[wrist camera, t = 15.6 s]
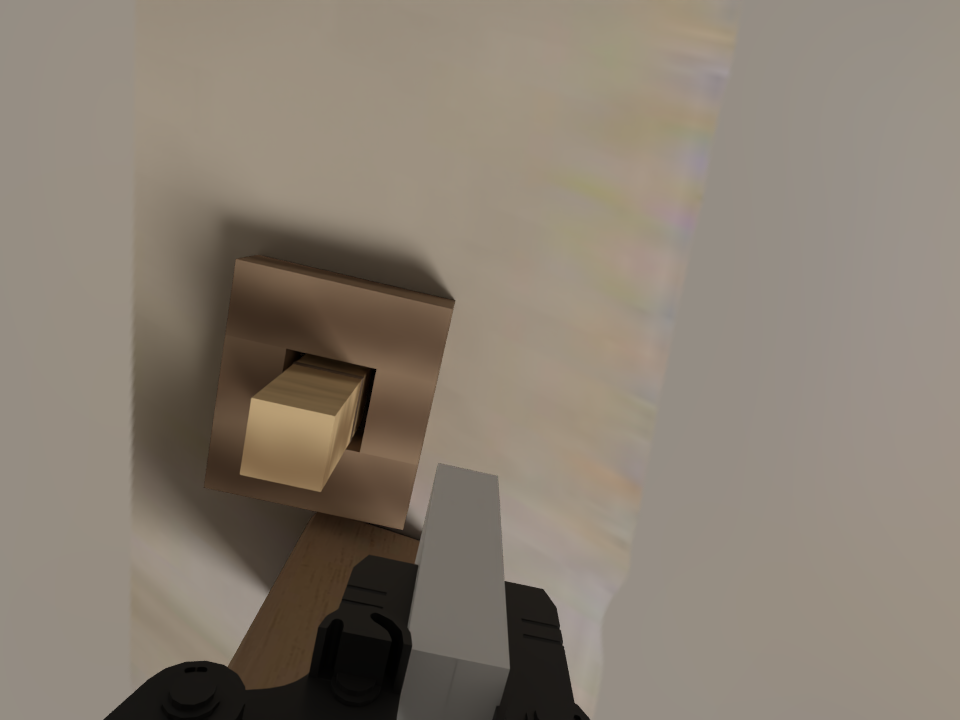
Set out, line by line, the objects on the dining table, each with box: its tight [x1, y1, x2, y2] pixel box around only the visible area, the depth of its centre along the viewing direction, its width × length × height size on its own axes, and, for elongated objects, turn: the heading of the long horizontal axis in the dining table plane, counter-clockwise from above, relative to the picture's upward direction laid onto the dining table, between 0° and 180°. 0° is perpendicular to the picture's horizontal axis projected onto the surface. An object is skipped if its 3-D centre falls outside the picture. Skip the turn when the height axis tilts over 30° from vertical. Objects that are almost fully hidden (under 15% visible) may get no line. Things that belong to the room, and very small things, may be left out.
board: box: [204, 255, 455, 530], centre depth 43 cm, size 16×14×4 cm
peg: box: [240, 353, 373, 492], centre depth 39 cm, size 5×5×12 cm
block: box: [228, 512, 420, 690], centre depth 39 cm, size 10×10×20 cm
